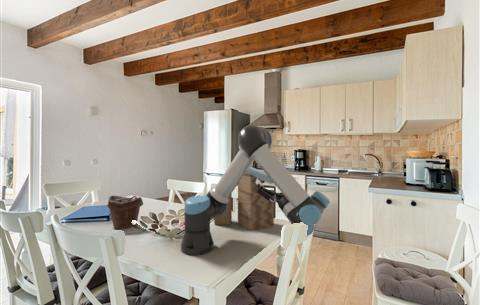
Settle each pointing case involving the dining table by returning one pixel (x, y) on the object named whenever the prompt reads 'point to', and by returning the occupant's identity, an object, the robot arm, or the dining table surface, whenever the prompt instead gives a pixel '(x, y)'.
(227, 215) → the wooden block
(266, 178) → the slate rail
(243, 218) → the walnut stand
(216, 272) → the dining table surface
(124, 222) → the brown pot
